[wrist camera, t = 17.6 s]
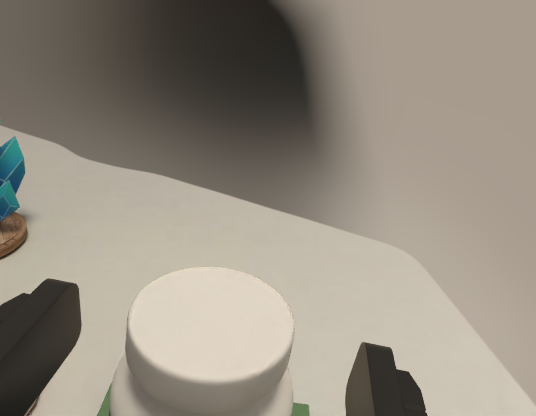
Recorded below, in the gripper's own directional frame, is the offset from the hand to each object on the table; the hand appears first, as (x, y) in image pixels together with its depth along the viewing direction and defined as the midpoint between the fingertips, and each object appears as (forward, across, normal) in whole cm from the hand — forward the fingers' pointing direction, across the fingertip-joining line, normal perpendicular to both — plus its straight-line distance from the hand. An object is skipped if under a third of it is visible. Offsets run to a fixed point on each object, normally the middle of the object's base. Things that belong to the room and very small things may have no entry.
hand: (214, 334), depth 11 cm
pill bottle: (0, 0, +10) cm, 10 cm away
